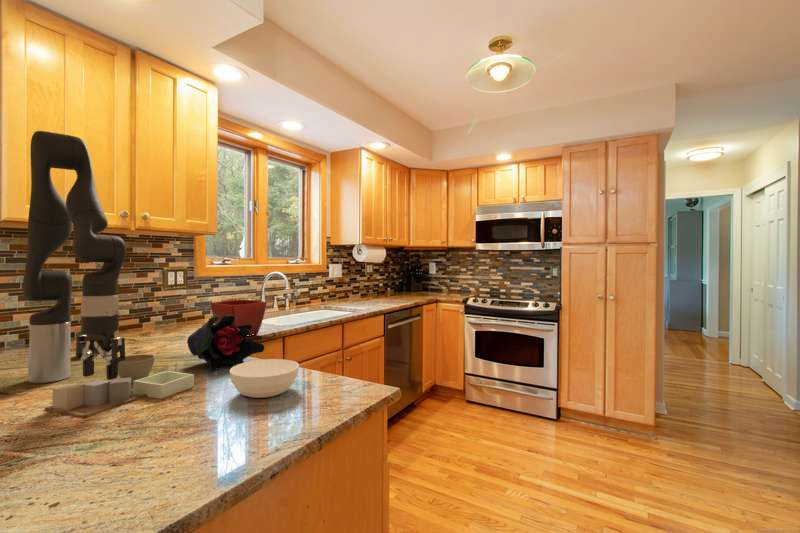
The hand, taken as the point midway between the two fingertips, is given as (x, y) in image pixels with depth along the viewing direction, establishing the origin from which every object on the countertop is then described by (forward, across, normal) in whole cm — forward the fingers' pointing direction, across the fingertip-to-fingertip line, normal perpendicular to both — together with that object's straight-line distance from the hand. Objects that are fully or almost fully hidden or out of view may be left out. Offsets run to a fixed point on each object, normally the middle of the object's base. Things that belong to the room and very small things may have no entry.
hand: (100, 377), depth 95 cm
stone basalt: (+6, +3, +3) cm, 8 cm away
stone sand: (+6, -4, -5) cm, 9 cm away
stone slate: (+6, -1, 0) cm, 6 cm away
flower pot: (+7, -10, +16) cm, 20 cm away
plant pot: (+6, -32, +85) cm, 91 cm away
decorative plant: (+7, +3, +39) cm, 40 cm away
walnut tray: (+7, 0, 0) cm, 7 cm away
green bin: (+7, +7, +12) cm, 16 cm away
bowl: (+8, +33, +22) cm, 40 cm away
